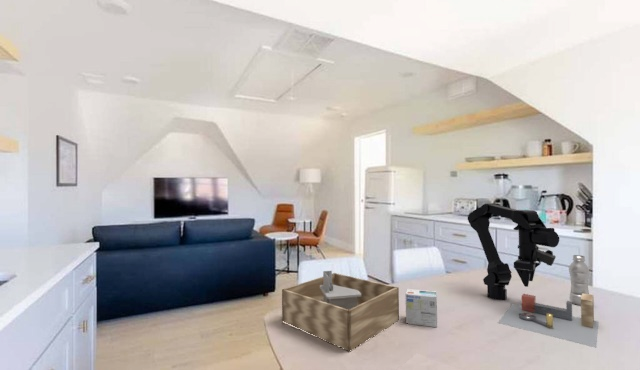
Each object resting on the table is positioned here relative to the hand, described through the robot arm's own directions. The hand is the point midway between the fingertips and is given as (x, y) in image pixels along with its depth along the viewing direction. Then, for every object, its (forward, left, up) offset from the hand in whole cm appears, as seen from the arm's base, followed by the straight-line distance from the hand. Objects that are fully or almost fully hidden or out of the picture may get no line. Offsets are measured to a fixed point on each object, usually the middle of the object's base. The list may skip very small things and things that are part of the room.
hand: (528, 283), depth 121 cm
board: (+7, -8, -11) cm, 15 cm away
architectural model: (-49, -55, -12) cm, 74 cm away
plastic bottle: (+14, +22, -11) cm, 28 cm away
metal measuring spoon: (+4, -10, -10) cm, 15 cm away
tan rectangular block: (+17, 0, -10) cm, 20 cm away
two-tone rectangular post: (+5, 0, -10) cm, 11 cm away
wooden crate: (-49, -54, -11) cm, 74 cm away
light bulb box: (-27, -35, -11) cm, 46 cm away
